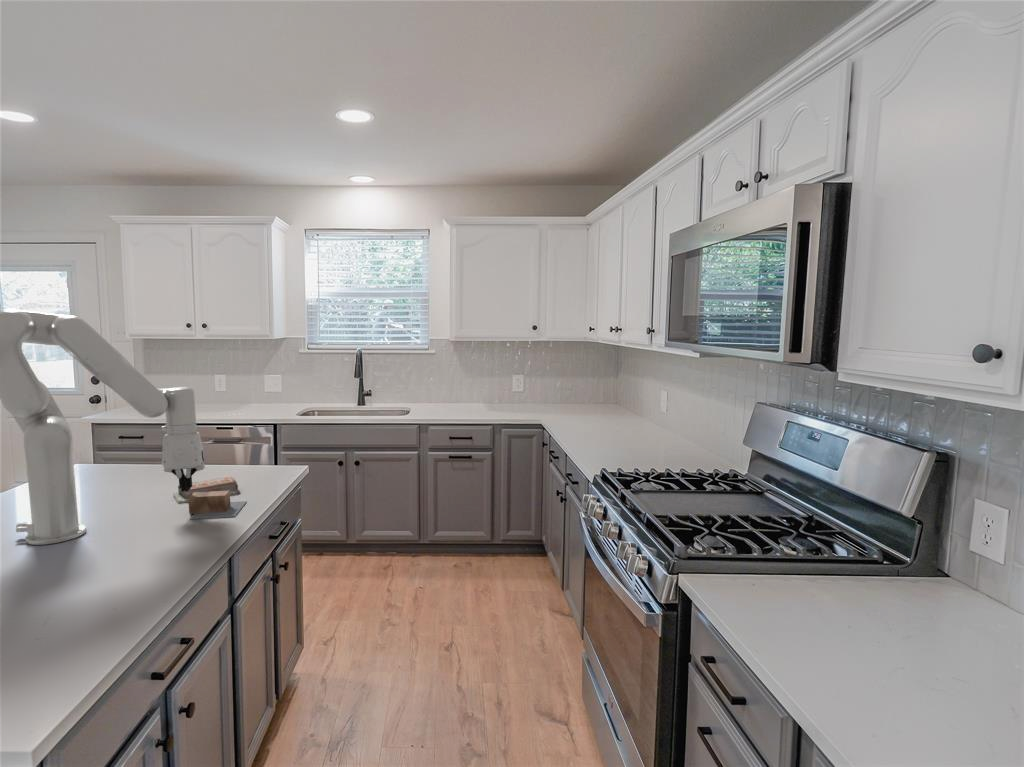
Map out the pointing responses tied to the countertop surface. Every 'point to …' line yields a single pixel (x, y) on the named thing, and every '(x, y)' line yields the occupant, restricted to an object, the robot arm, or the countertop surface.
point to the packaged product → (208, 488)
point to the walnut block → (209, 502)
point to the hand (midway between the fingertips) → (186, 490)
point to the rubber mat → (229, 513)
